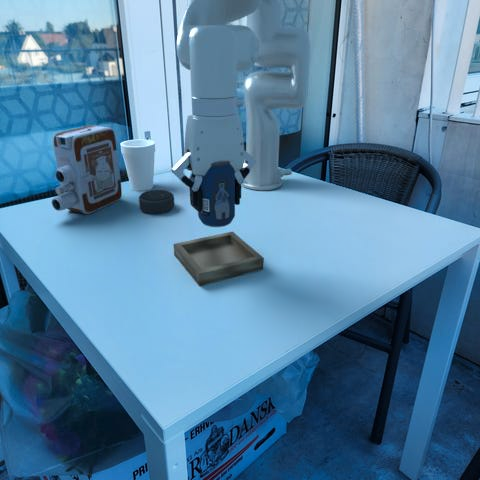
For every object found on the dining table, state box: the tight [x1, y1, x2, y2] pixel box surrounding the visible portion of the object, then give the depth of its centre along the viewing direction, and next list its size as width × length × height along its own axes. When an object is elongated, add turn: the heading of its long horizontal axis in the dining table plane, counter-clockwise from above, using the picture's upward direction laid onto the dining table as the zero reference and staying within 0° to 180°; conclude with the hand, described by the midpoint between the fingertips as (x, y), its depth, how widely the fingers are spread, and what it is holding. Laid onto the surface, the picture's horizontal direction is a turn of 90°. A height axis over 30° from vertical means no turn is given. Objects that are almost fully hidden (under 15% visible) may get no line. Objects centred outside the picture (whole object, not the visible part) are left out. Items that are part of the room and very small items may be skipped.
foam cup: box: [120, 138, 156, 192], centre depth 122 cm, size 10×9×13 cm
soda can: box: [197, 161, 236, 228], centre depth 78 cm, size 7×7×12 cm
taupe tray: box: [173, 231, 265, 287], centre depth 84 cm, size 13×13×2 cm
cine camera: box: [51, 124, 123, 215], centre depth 106 cm, size 9×19×20 cm, turn 152°
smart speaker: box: [138, 189, 175, 215], centre depth 110 cm, size 9×9×4 cm
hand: (216, 205), depth 80 cm, fingers closed on soda can, 7 cm apart
